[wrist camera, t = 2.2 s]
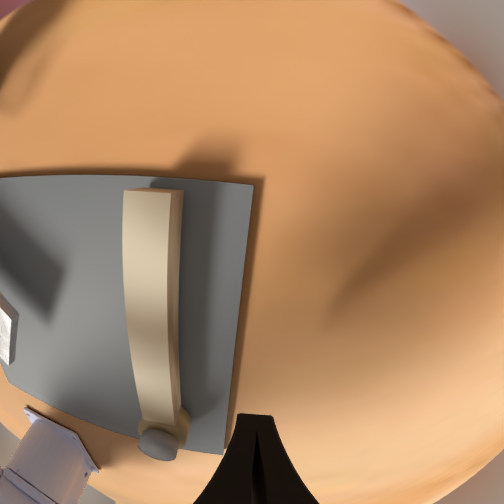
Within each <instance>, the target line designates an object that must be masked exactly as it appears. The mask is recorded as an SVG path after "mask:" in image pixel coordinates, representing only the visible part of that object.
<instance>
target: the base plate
mask: <svg viewBox="0 0 504 504" xmlns="http://www.w3.org/2000/svg"><path fill="white" fill-rule="evenodd" d="M142 187H144V188H160V189H174V190H184V199H183V211H182V225H181V242H180V264H179V307H178V330H179V371H180V392H181V407H182V408H184V409H185V410H186V411H187V412H188V413H189V415H190V417H191V423H190V427H189V431H188V436H187V440H186V444H185V446H184V447H182V448H180V449H185V450H190V451H196V452H203V453H210V454H218V455H223V451H224V442H225V432H226V423H227V414H228V404H229V395H230V386H231V377H232V368H233V359H234V350H235V341H236V332H237V323H238V315H239V306H240V297H241V289H242V280H243V272H244V263H245V255H246V246H247V238H248V229H249V221H250V213H251V204H252V196H253V188H254V185H249V184H240V183H231V182H221V181H211V180H199V179H187V178H172V177H155V176H133V175H40V176H20V177H5V178H0V292H1V294H2V295H3V296H4V297H5V298H6V299H7V301H8V302H9V303H10V304H11V305H12V306H13V307H14V308H15V309H16V311H17V312H18V313H19V322H18V330H17V340H16V353H15V361H14V362H13V363H12V364H11V365H10V366H8V365H7V364H6V363H5V361H4V360H3V359H2V358H1V357H0V363H1V366H2V368H3V370H4V373H5V375H6V377H7V379H8V381H9V383H11V384H12V385H14V386H15V387H17V388H19V389H21V390H22V391H24V392H26V393H28V394H29V395H31V396H33V397H35V398H37V399H39V400H40V401H42V402H44V403H46V404H48V405H50V406H52V407H54V408H57V409H59V410H61V411H63V412H65V413H67V414H70V415H72V416H74V417H77V418H79V419H82V420H84V421H86V422H89V423H92V424H94V425H97V426H100V427H102V428H105V429H108V430H111V431H114V432H117V433H120V434H124V435H127V436H130V437H134V438H137V439H140V440H139V443H138V447H139V449H140V450H141V451H142V452H143V453H144V454H146V455H148V456H150V457H152V458H154V459H157V460H162V461H171V460H174V459H175V458H176V455H177V450H178V446H179V442H178V441H177V439H176V438H175V437H173V436H172V435H170V434H168V433H166V432H164V431H161V430H157V429H146V430H144V431H143V432H142V435H140V434H139V432H138V425H139V423H140V420H141V418H142V412H141V408H140V403H139V399H138V394H137V389H136V383H135V378H134V372H133V366H132V360H131V353H130V346H129V338H128V330H127V321H126V310H125V298H124V282H123V255H122V222H123V195H124V190H129V189H135V188H142Z"/></svg>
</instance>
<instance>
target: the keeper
mask: <svg viewBox="0 0 504 504" xmlns="http://www.w3.org/2000/svg"><path fill="white" fill-rule="evenodd" d="M18 322H19V313H18V312H17V311H16V309H15V308H14V307H13V306H12V305H11V304H10V303H9V302H8V301H7V299H6V298H5V297H4V296H3V295H2V294H1V292H0V357H1V358H2V359H3V360H4V361H5V363H6V364H7V365H8V366H10V365H11V364H12V363H13V362H14V361H15V353H16V340H17V330H18Z"/></svg>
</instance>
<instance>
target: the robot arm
mask: <svg viewBox="0 0 504 504" xmlns="http://www.w3.org/2000/svg"><path fill="white" fill-rule="evenodd" d="M24 411H25V413H26V415H27V416H28V418H29V420H30V421H31V423H32V426H31V427H30V428H29V430H28V431H27V433H26V434H25V436H24V437H23V439H22V440H21V442H20V443H19V445H18V446H17V448H16V449H15V451H14V452H13V454H12V456H11V457H10V459H9V460H8V462H7V464H6V465H5V467H4V466H0V504H77V503H78V502H79V500H80V497H81V495H82V493H83V490H84V488H85V486H86V483H87V481H88V479H89V476H90V474H91V472H92V471H93V472H95V473H99V470H98V468H97V467H96V465H95V464H94V462H93V461H92V459H91V457H90V456H89V454H88V453H87V451H86V449H85V448H84V446H83V444H82V442H81V441H80V439H79V437H78V435H77V434H76V433H75V432H73V431H71V430H69V429H67V428H65V427H63V426H60V425H58V424H56V423H54V422H52V421H50V420H48V419H47V418H45V417H43V416H41V415H39V414H37V413H35V412H34V411H32V410H30V409H28V408H27V407H25V408H24ZM193 504H319V503H318V501H317V500H316V499H315V498H314V496H313V495H312V494H311V493H310V491H309V490H308V488H307V487H306V486H305V484H304V483H303V481H302V480H301V478H300V476H299V475H298V473H297V472H296V470H295V468H294V466H293V464H292V463H291V461H290V459H289V457H288V455H287V453H286V451H285V448H284V446H283V444H282V442H281V439H280V437H279V434H278V431H277V428H276V425H275V422H274V418H273V417H272V416H271V415H256V414H244V413H240V414H238V415H237V419H236V426H235V429H234V433H233V435H232V438H231V441H230V443H229V446H228V448H227V450H226V453H225V455H224V457H223V459H222V461H221V463H220V464H219V466H218V468H217V470H216V472H215V473H214V475H213V477H212V478H211V480H210V481H209V483H208V484H207V486H206V487H205V489H204V490H203V492H202V493H201V494H200V496H199V497H198V498H197V499H196V501H195V502H194V503H193Z"/></svg>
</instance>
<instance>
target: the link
mask: <svg viewBox="0 0 504 504" xmlns="http://www.w3.org/2000/svg"><path fill="white" fill-rule="evenodd" d="M183 199H184V190H174V189H160V188H144V187H142V188H135V189H129V190H124V195H123V222H122V255H123V282H124V298H125V310H126V321H127V330H128V338H129V346H130V353H131V360H132V366H133V372H134V378H135V383H136V389H137V394H138V399H139V403H140V408H141V412H142V418H141V420H140V423H139V425H138V432H139V434H140V435H142V432H143V431H144V430H146V429H157V430H161V431H164V432H166V433H168V434H170V435H172V436H173V437H175V438H176V439H177V441H178V442H179V446H178V449H180V448H182V447H184V446H185V444H186V440H187V436H188V431H189V427H190V423H191V417H190V415H189V413H188V412H187V411H186V410H185V409H184V408H182V407H181V392H180V371H179V330H178V307H179V264H180V242H181V225H182V211H183Z"/></svg>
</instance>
